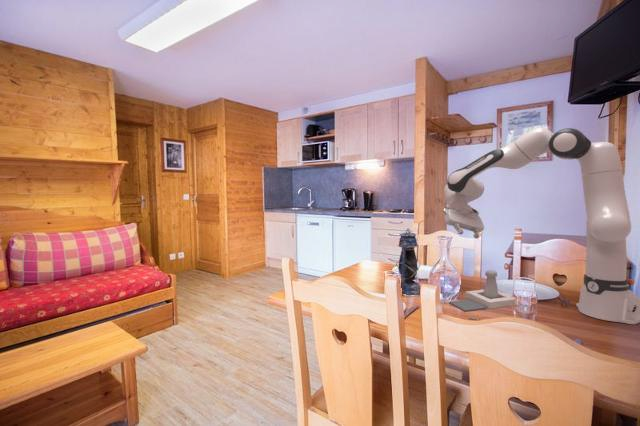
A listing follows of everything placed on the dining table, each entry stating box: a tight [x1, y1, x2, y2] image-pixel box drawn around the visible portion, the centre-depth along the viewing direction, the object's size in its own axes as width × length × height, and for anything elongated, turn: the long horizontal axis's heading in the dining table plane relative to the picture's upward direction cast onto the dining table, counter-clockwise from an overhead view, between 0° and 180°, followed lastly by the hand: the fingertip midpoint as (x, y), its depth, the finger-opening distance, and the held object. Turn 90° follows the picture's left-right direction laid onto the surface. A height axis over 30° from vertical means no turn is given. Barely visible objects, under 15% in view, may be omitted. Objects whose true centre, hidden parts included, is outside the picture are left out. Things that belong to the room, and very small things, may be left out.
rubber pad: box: [448, 298, 487, 313], centre depth 127 cm, size 10×10×1 cm
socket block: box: [464, 288, 516, 309], centre depth 132 cm, size 14×14×2 cm
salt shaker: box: [483, 269, 499, 299], centre depth 131 cm, size 6×6×13 cm
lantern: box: [395, 228, 421, 296], centre depth 145 cm, size 15×12×30 cm
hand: (469, 235), depth 138 cm, fingers open, 8 cm apart
